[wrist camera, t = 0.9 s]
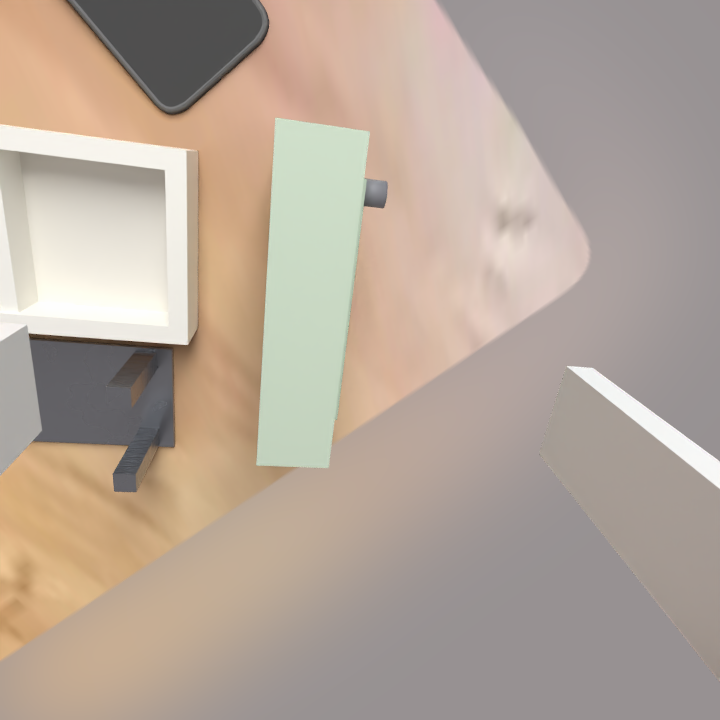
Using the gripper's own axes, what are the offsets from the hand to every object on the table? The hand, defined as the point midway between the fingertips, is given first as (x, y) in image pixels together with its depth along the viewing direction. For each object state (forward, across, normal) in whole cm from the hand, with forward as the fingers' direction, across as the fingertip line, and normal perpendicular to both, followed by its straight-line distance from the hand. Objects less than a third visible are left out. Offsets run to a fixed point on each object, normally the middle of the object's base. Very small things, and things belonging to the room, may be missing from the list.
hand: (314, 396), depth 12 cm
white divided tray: (+18, -15, 0) cm, 24 cm away
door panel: (+18, 0, 0) cm, 18 cm away
